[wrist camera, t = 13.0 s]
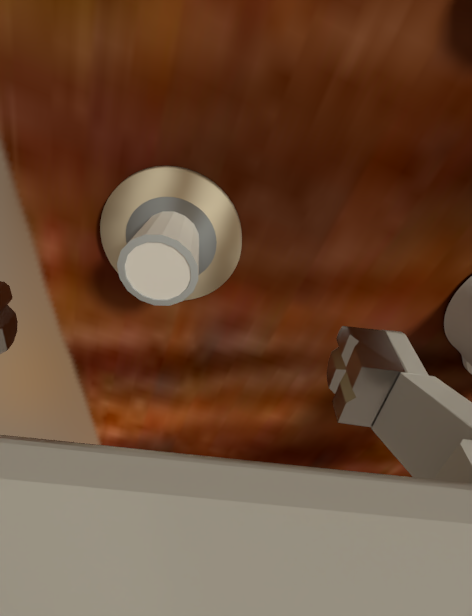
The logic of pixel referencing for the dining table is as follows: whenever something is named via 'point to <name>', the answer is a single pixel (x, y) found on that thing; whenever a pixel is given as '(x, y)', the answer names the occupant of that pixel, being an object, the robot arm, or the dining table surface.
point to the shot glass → (161, 260)
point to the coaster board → (184, 200)
